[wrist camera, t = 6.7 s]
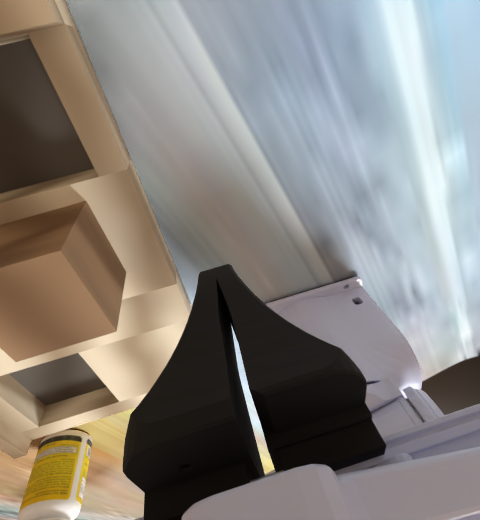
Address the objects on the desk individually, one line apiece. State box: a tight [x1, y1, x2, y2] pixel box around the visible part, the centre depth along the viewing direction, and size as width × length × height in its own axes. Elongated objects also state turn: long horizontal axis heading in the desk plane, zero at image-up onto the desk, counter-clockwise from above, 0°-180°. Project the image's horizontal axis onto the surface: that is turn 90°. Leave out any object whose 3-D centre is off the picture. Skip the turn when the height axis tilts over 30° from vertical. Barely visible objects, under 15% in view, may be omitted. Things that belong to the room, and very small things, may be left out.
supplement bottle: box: [18, 430, 92, 520], centre depth 27 cm, size 5×5×8 cm
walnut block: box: [0, 201, 126, 362], centre depth 15 cm, size 5×5×5 cm
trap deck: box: [0, 0, 192, 459], centre depth 19 cm, size 18×27×3 cm, turn 11°
